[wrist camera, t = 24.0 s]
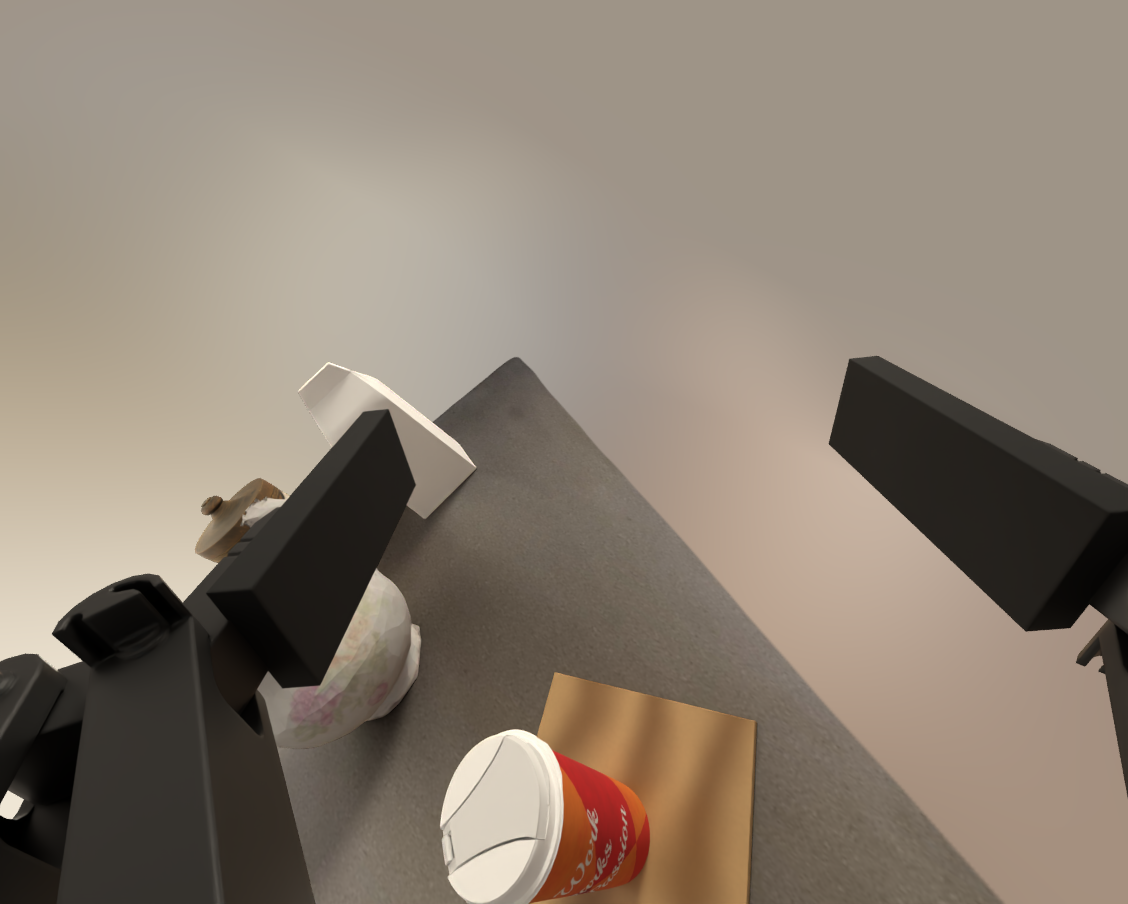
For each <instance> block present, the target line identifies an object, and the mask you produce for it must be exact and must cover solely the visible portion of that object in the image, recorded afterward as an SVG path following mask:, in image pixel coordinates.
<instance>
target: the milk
mask: <svg viewBox="0 0 1128 904" xmlns="http://www.w3.org/2000/svg"><path fill="white" fill-rule="evenodd" d="M298 394H299V395H300V397H301V399H302V401H303V402H304V404H305V406H306V407H307V409H308V410H309V411H310V414H311V416H312V417H313V419H314V421H315V422H316V424H317V426H318V427H319V428H320V430H321V432H322V434H323V435H324V437H325V438H326V440H327V441H328V443H329V444H330V445H331V446H332V447H333V446H334V445H335V444H336V442H337V441H338V440H339V439H340V438H341V437H342V436H343V434H344V433H345V432H346V431H347V430H348V429H349V427H350V426H351V425H352V424H353V423H354V422H355V421H356V419H357V418H358V417H359V416H360V415H361V414H362V412H364V411H374V410H383V409H389V411H390V414H391V417H392V420H393V422H394V425H395V428H396V431H397V433H398V436H399V439H400V442H401V445H402V447H403V450H404V453H405V456H406V458H407V461H408V464H409V467H410V470H411V472H412V475H413V478H414V481H415V483H416V486H415V488H414V490H413V492H412V494H411V497H410V499H409V501H408V503H407V506H408V507H409V508H411V509H412V510H413V511H415V512H416V513H417V514H419V515H420V516H421V517H422V518H424V519H426V518H427V517H428V516H429V515H430V514H431V513H432V512H433V511H434V510H435V509H436V508H437V507H438V506H439V505H440V504H441V503H442V502H443V501H444V500H445V499H446V498H447V497H448V496H449V495H450V494H451V493H452V492H453V491H454V490H455V489H456V488H457V487H458V486H459V485H460V484H461V483H462V482H463V481H464V480H465V479H466V478H467V477H468V476H469V475H470V474H471V473H472V472H473V471H474V470H475V469H476V467H475V465H474V464H473V462H472V461H471V460H470V458H469V457H468V456H467V454H466V453H465V451H464V450H463V449H462V447H461V446H460V445H459V443H458V442H456V441H455V440H454V439H453V438H451V437H450V436H449V435H447V434H446V433H445V432H444V431H442V430H441V429H440V428H439V427H437V426H436V425H435V424H434V423H432V422H431V421H430V420H428V419H427V418H426V417H425V416H423V415H422V414H421V413H420V412H418V411H417V410H416V409H414V408H413V407H412V406H411V405H409V404H408V403H407V402H405V401H404V400H403V399H402V398H401V397H399V396H398V395H397V394H396V393H394V392H393V391H392V390H391V389H389V388H388V387H387V386H385V385H384V384H383V383H381V382H380V381H378V380H377V379H375V378H373V377H370V376H368V375H365V374H362V373H359V372H355V371H352V370H349V369H347V368H344V367H341V366H338V365H336V364H333V363H330V362H328V363H327V364H325V365H324V366H323V367H322V368H321V369H320V370H319V371H318V372H317V373H316V374H315V375H314V376H313V377H312V378H311V379H310V380H309V381H307V382H306V383H305V384H304V385H303V386H302V387H301V388H300V389H299V390H298Z"/></svg>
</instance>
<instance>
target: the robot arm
mask: <svg viewBox="0 0 1128 904" xmlns="http://www.w3.org/2000/svg"><path fill="white" fill-rule="evenodd" d="M829 445H830V446H831V447H832V448H833V449H835V450H836V451H837V452H838V453H839V454H840V455H841V456H842V457H843V458H844V459H845V460H846V461H847V462H848V463H849V464H850V465H851V466H852V467H853V468H855V469H856V470H857V471H858V472H859V473H860V474H861V475H862V476H863V477H864V478H865V479H866V480H867V481H868V482H869V483H870V484H871V485H872V486H874V488H875V489H877V490H878V491H879V492H880V493H881V494H882V495H883V496H884V497H885V498H886V499H887V500H888V501H889V502H890V503H891V504H892V505H893V506H895V507H896V508H897V509H898V510H899V511H900V512H901V513H902V514H903V515H904V516H905V517H906V518H907V519H908V520H909V521H910V522H911V523H912V524H914V526H915V527H917V528H918V529H919V530H920V531H921V532H922V533H923V534H924V535H925V536H926V537H927V538H928V539H929V540H930V541H931V542H932V543H933V544H934V545H935V546H936V547H937V548H939V549H940V550H941V551H942V552H943V553H944V554H945V555H946V556H947V557H948V558H949V559H950V560H951V561H952V562H953V563H954V564H956V565H957V567H958V568H960V569H961V570H962V571H963V572H964V573H965V574H966V575H967V576H968V577H969V578H970V579H971V580H972V581H973V582H974V583H975V584H976V585H977V586H979V588H981V589H982V590H983V591H984V592H985V593H986V594H987V595H988V596H989V597H990V598H991V599H992V600H993V601H994V602H995V603H996V604H997V605H999V607H1001V608H1002V609H1003V610H1004V611H1005V612H1006V613H1007V614H1008V615H1009V616H1010V617H1011V618H1012V619H1013V620H1014V621H1015V622H1016V623H1017V624H1018V625H1019V626H1020V627H1022V628H1023V629H1024V630H1025V631H1038V630H1051V629H1064V628H1071V627H1072V625H1073V624H1074V623H1075V621H1076V620H1077V619H1078V618H1079V617H1080V615H1081V614H1082V613H1083V612H1084V610H1085V609H1086V608H1087V606H1088V605H1089V604H1090V605H1091V606H1092V607H1094V608H1095V609H1096V610H1098V611H1099V612H1100V613H1102V614H1103V615H1104V616H1105V617H1107V618H1108V620H1107V621H1106V623H1105V624H1104V625H1103V626H1102V627H1101V628H1100V630H1099V631H1098V632H1097V633H1096V634H1095V636H1094V637H1093V638H1092V639H1091V640H1090V641H1089V643H1088V644H1087V645H1086V646H1085V647H1084V649H1083V650H1082V651H1081V652H1080V653H1079V655H1078V657H1077V661H1076V663H1078V664H1080V665H1083V666H1086V665H1087V664H1088V663H1089V661H1090V660H1091V659H1092V658H1093V657H1096V656H1102V658H1103V664H1104V665H1103V666H1102V667H1101V668H1100V669H1099V672H1101V673H1104V674H1105V675H1106V680H1107V686H1108V691H1109V697H1110V702H1111V708H1112V713H1113V719H1114V724H1115V730H1116V735H1117V741H1118V746H1119V752H1120V757H1121V763H1122V768H1123V774H1124V780H1125V785H1126V790H1127V796H1128V484H1126V483H1124V482H1122V481H1120V480H1118V479H1116V478H1114V477H1112V476H1110V475H1109V474H1107V473H1105V474H1101V473H1100V470H1099V469H1097V468H1095V467H1093V466H1091V465H1089V464H1088V463H1086V462H1084V461H1078V460H1077V459H1078V458H1076V457H1074V456H1072V455H1070V454H1068V453H1067V452H1065V451H1063V450H1061V449H1059V448H1057V447H1055V446H1053V445H1051V444H1049V443H1045V442H1043V441H1040V440H1037V439H1034V438H1032V437H1030V436H1028V435H1026V434H1024V433H1023V432H1021V431H1019V430H1017V429H1015V428H1013V427H1011V426H1009V425H1007V424H1005V423H1004V422H1002V421H1000V420H997V419H996V418H994V417H992V416H990V415H989V414H987V413H985V412H983V411H981V410H979V409H977V408H975V407H973V406H972V405H970V404H968V403H966V402H964V401H962V400H960V399H958V398H956V397H954V396H953V395H951V394H949V393H947V392H945V391H943V390H941V389H939V388H938V387H936V386H934V385H932V384H930V383H928V382H926V381H924V380H922V379H921V378H918V377H917V376H915V375H913V374H911V373H909V372H907V371H905V370H904V369H902V368H900V367H898V366H896V365H894V364H892V363H890V362H888V361H887V360H885V359H883V358H881V357H879V356H872V357H864V358H853V359H849V363H848V367H847V371H846V375H845V379H844V383H843V387H842V392H841V395H840V400H839V404H838V408H837V412H836V416H835V420H834V424H833V428H832V433H831V436H830V441H829ZM415 486H416V483H415V481H414V478H413V475H412V472H411V470H410V467H409V464H408V461H407V458H406V456H405V453H404V450H403V447H402V445H401V442H400V439H399V436H398V433H397V431H396V428H395V425H394V422H393V420H392V417H391V414H390V411H389V409H383V410H374V411H364V412H362V414H361V415H360V416H359V417H358V418H357V419H356V421H355V422H354V423H353V424H352V425H351V426H350V427H349V429H348V430H347V431H346V432H345V433H344V434H343V436H342V437H341V438H340V439H339V440H338V441H337V442H336V444H335V445H334V446H333V447H332V448H331V449H330V451H329V452H328V453H327V454H326V455H325V456H324V458H323V459H322V460H321V461H320V462H319V463H318V464H317V466H316V467H315V468H314V469H313V470H312V471H311V473H310V474H309V475H308V476H307V477H306V478H305V479H304V480H303V482H302V483H301V484H300V485H299V486H298V487H297V489H296V490H295V491H294V492H293V493H292V495H290V497H289V498H288V499H287V500H286V501H285V502H284V504H283V505H282V506H281V507H276V508H275V509H274V510H272V511H271V512H269V513H268V514H266V515H265V516H264V517H262V518H261V519H259V520H258V521H257V522H255V523H254V524H253V526H252V527H251V528H250V529H249V530H248V531H247V532H246V533H245V534H244V535H243V537H242V538H241V539H240V543H236V544H235V545H234V547H233V548H232V549H231V550H230V551H229V552H228V553H227V554H228V556H227V557H224V558H223V559H222V560H221V561H220V562H219V563H218V565H216V567H215V568H214V569H213V570H212V571H211V572H210V573H209V574H208V575H207V576H206V578H205V579H204V580H203V581H202V582H201V583H200V584H199V585H198V586H197V588H196V589H195V590H194V591H193V592H192V593H191V594H190V595H189V596H188V598H187V599H186V600H185V601H184V602H183V603H182V601H181V600H180V599H179V598H178V597H177V596H176V594H175V593H174V592H173V591H172V590H171V589H170V588H169V586H168V585H167V584H166V583H165V582H164V581H163V579H162V578H161V577H160V576H159V575H153V574H143V575H138V576H132V577H130V578H126V579H124V580H121V581H118V582H115V583H113V584H111V585H109V586H107V587H105V588H103V589H101V590H99V591H98V592H96V593H94V594H92V595H91V596H89V597H88V598H86V599H85V600H83V601H82V602H81V603H79V604H78V605H76V606H75V607H74V608H72V609H71V610H70V611H69V612H68V613H67V614H66V615H65V616H64V617H63V618H62V619H61V620H60V621H59V622H58V624H57V626H56V627H55V629H54V631H53V633H52V635H53V636H54V637H56V638H57V639H58V640H59V641H60V642H61V643H63V644H64V645H65V646H66V647H67V648H68V649H70V650H71V651H72V652H73V653H74V654H76V655H77V656H78V657H79V658H80V659H81V660H82V662H79V663H76V664H73V665H70V666H67V667H64V668H61V669H58V670H57V669H55V668H54V667H53V666H52V665H50V664H49V663H48V662H46V661H45V660H44V659H43V658H42V657H40V656H39V655H37V654H23V655H19V656H15V657H11V658H8V659H5V660H3V661H1V662H0V803H1V801H2V800H3V798H4V796H5V794H6V792H7V791H8V790H9V791H10V792H12V793H14V794H16V795H17V796H19V797H21V798H23V799H24V801H23V803H22V805H21V807H20V809H19V811H18V813H17V814H16V815H15V816H14V818H13V819H6V818H4V817H2V816H0V904H315V900H314V896H313V892H312V888H311V884H310V880H309V876H308V872H307V868H306V863H305V859H304V855H303V851H302V847H301V843H300V839H299V835H298V831H297V827H296V823H295V819H294V815H293V811H292V807H291V803H290V799H289V795H288V790H287V786H286V782H285V778H284V774H283V770H282V766H281V762H280V758H279V754H278V750H277V746H276V742H275V738H274V734H273V730H272V726H271V721H270V717H269V713H268V709H267V705H266V701H265V699H264V697H263V696H262V695H261V693H260V692H259V691H258V690H257V689H258V687H259V685H260V684H261V682H262V680H263V679H264V677H265V675H266V674H267V672H268V671H269V673H270V674H271V675H272V676H273V678H274V679H275V680H276V681H277V683H278V684H279V685H280V686H281V687H282V689H284V688H297V687H310V686H320V685H321V683H322V681H323V679H324V677H325V675H326V673H327V670H328V668H329V666H330V664H331V662H332V660H333V658H334V656H335V654H336V652H337V650H338V647H339V645H340V643H341V641H342V639H343V637H344V635H345V633H346V631H347V629H348V626H349V624H350V622H351V620H352V618H353V616H354V614H355V612H356V610H357V608H358V606H359V603H360V601H361V599H362V597H363V595H364V593H365V591H366V589H367V587H368V585H369V582H370V580H371V578H372V576H373V574H374V572H375V570H376V568H377V566H378V564H379V561H380V559H381V557H382V555H383V553H384V551H385V549H386V547H387V545H388V543H389V541H390V538H391V536H392V534H393V532H394V530H395V528H396V526H397V524H398V522H399V520H400V517H401V515H402V513H403V511H404V509H405V507H406V505H407V503H408V501H409V499H410V497H411V494H412V492H413V490H414V488H415Z"/></svg>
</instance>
